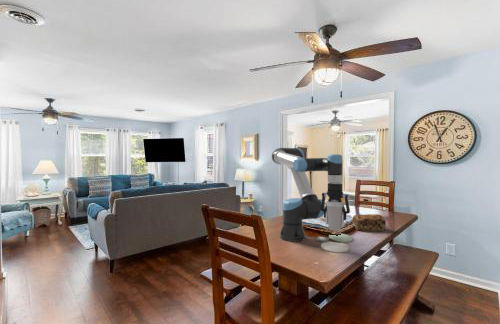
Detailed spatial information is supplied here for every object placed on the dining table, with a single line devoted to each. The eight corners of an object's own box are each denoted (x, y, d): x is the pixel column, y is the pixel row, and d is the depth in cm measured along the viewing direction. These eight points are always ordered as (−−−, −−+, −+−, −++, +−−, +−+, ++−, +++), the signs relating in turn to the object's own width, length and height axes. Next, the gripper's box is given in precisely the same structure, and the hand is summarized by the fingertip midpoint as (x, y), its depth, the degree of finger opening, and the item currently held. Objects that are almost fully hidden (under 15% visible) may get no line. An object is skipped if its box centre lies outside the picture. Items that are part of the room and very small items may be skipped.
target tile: (315, 240, 147) (315, 239, 147) (318, 237, 153) (318, 235, 153) (327, 242, 143) (327, 241, 143) (329, 238, 149) (329, 237, 149)
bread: (379, 227, 174) (379, 213, 174) (386, 232, 163) (386, 216, 163) (351, 226, 176) (352, 212, 175) (356, 231, 165) (357, 216, 165)
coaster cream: (318, 249, 132) (318, 247, 132) (324, 241, 144) (324, 240, 144) (346, 254, 125) (346, 253, 125) (350, 246, 137) (350, 244, 137)
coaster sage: (326, 239, 148) (326, 238, 148) (331, 233, 160) (331, 232, 160) (351, 243, 141) (351, 242, 141) (354, 236, 153) (354, 235, 153)
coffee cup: (347, 229, 133) (348, 201, 133) (337, 232, 128) (337, 203, 128) (332, 225, 141) (332, 199, 141) (321, 228, 136) (321, 201, 135)
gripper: (314, 182, 136) (314, 224, 136) (354, 184, 126) (354, 229, 126) (317, 181, 143) (317, 221, 143) (356, 183, 132) (356, 225, 133)
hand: (334, 224), depth 134 cm, fingers closed on coffee cup, 8 cm apart
